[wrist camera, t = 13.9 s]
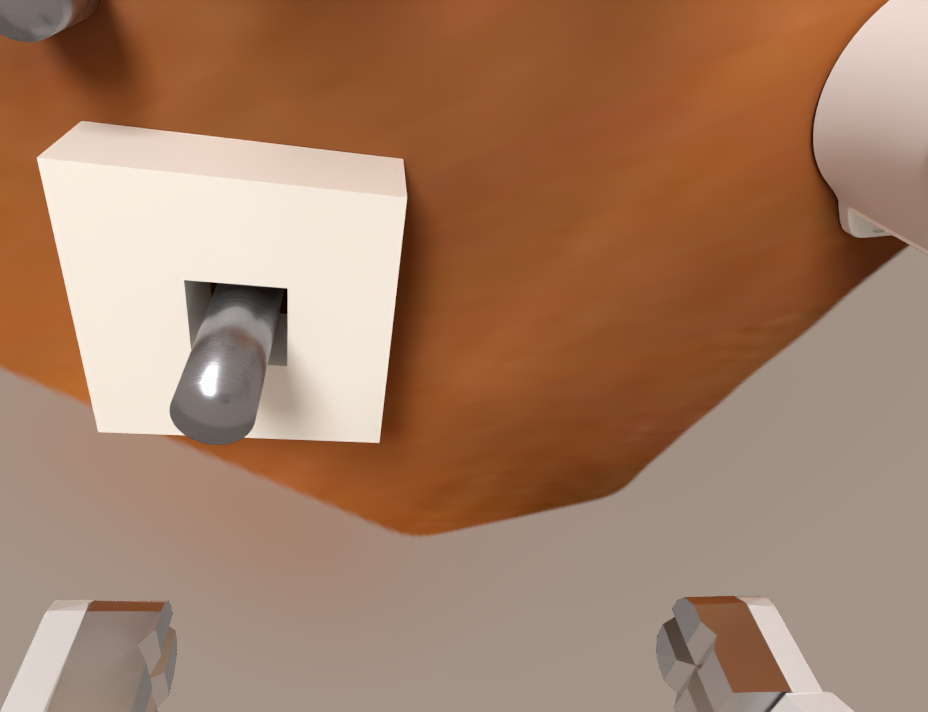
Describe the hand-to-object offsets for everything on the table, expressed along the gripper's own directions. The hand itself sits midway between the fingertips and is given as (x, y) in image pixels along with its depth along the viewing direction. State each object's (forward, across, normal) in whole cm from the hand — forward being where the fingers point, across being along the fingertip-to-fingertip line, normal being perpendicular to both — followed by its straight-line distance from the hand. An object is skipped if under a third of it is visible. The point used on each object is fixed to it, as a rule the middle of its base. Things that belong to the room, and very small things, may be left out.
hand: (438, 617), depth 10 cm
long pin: (+33, +8, +13) cm, 36 cm away
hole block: (+33, +8, +13) cm, 36 cm away
